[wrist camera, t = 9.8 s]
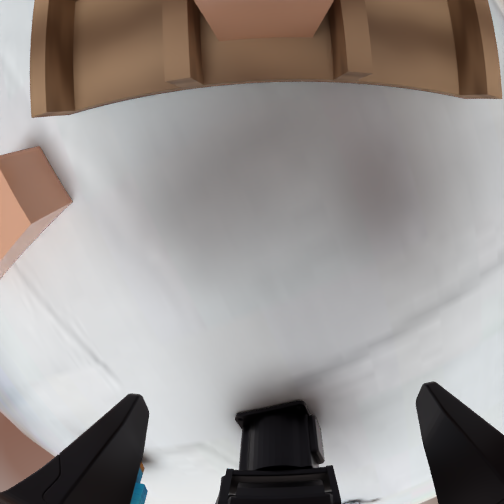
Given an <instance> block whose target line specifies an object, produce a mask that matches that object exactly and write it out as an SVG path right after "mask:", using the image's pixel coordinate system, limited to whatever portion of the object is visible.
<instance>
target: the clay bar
mask: <svg viewBox="0 0 504 504" xmlns="http://www.w3.org/2000/svg"><path fill="white" fill-rule="evenodd" d="M71 203H72V200H71V198H70V197H69V195H68V194H67V192H66V190H65V189H64V187H63V186H62V184H61V182H60V181H59V179H58V177H57V176H56V174H55V172H54V171H53V169H52V167H51V165H50V164H49V162H48V160H47V158H46V157H45V155H44V153H43V151H42V150H41V148H40V146H38V147H34V148H29V149H25V150H20V151H16V152H12V153H8V154H4V155H0V279H1V278H2V277H3V275H4V274H5V273H6V272H7V271H8V269H9V268H10V267H11V266H12V265H13V264H14V262H15V261H16V260H17V259H18V258H19V257H20V256H21V254H22V253H23V252H24V251H25V250H26V249H27V248H28V247H29V246H30V244H31V243H32V242H33V241H34V240H35V239H36V238H37V237H38V236H39V235H40V234H41V233H42V232H43V231H44V230H45V229H46V228H47V227H48V226H49V225H50V224H51V223H52V222H53V221H54V220H55V219H56V218H57V217H58V216H59V215H60V214H61V213H62V212H63V211H64V210H65V209H66V208H67V207H68V206H69V205H70V204H71Z"/></svg>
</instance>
